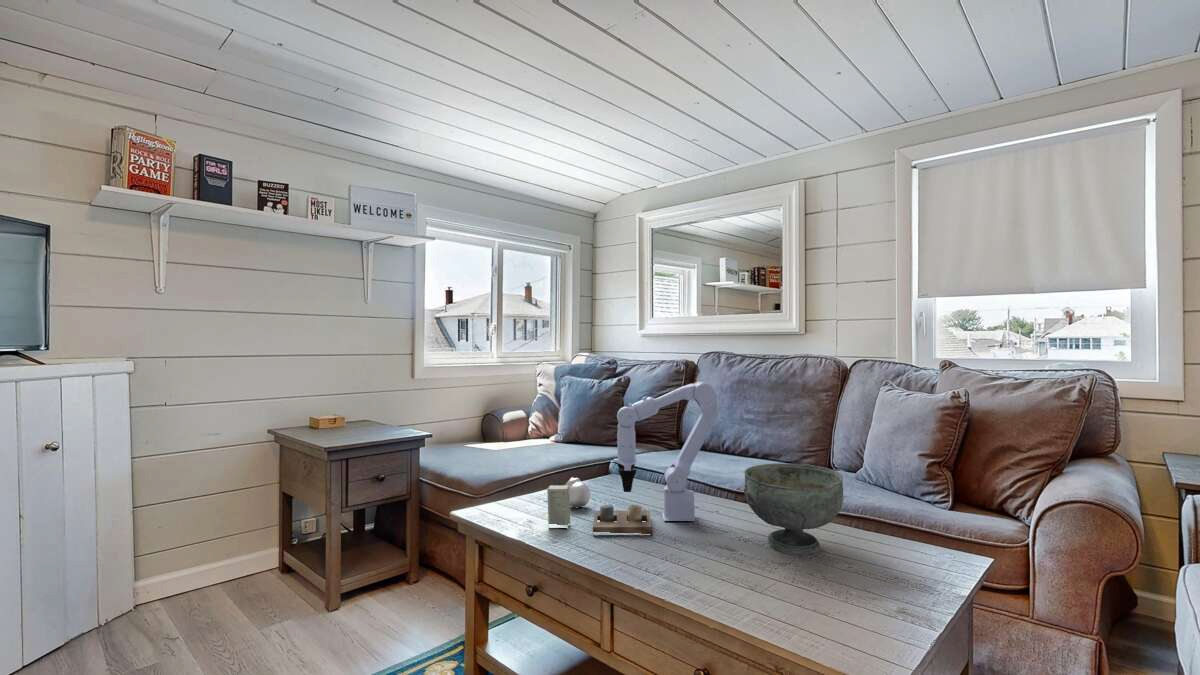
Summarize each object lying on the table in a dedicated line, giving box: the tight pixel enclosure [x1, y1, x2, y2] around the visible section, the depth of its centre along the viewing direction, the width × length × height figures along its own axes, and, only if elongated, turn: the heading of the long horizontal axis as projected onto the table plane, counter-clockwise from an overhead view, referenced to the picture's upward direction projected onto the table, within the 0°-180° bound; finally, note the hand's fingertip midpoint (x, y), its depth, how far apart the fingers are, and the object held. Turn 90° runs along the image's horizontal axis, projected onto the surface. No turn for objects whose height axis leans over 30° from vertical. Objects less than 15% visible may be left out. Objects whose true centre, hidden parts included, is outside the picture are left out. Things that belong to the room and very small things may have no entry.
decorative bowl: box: [743, 462, 844, 556], centre depth 154 cm, size 26×26×20 cm
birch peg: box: [627, 504, 643, 522], centre depth 172 cm, size 4×4×6 cm
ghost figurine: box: [564, 477, 591, 508], centre depth 192 cm, size 9×10×10 cm
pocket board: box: [592, 504, 653, 535], centre depth 172 cm, size 17×16×6 cm
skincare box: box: [546, 484, 571, 525], centre depth 173 cm, size 6×4×12 cm
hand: (626, 488), depth 180 cm, fingers open, 7 cm apart
